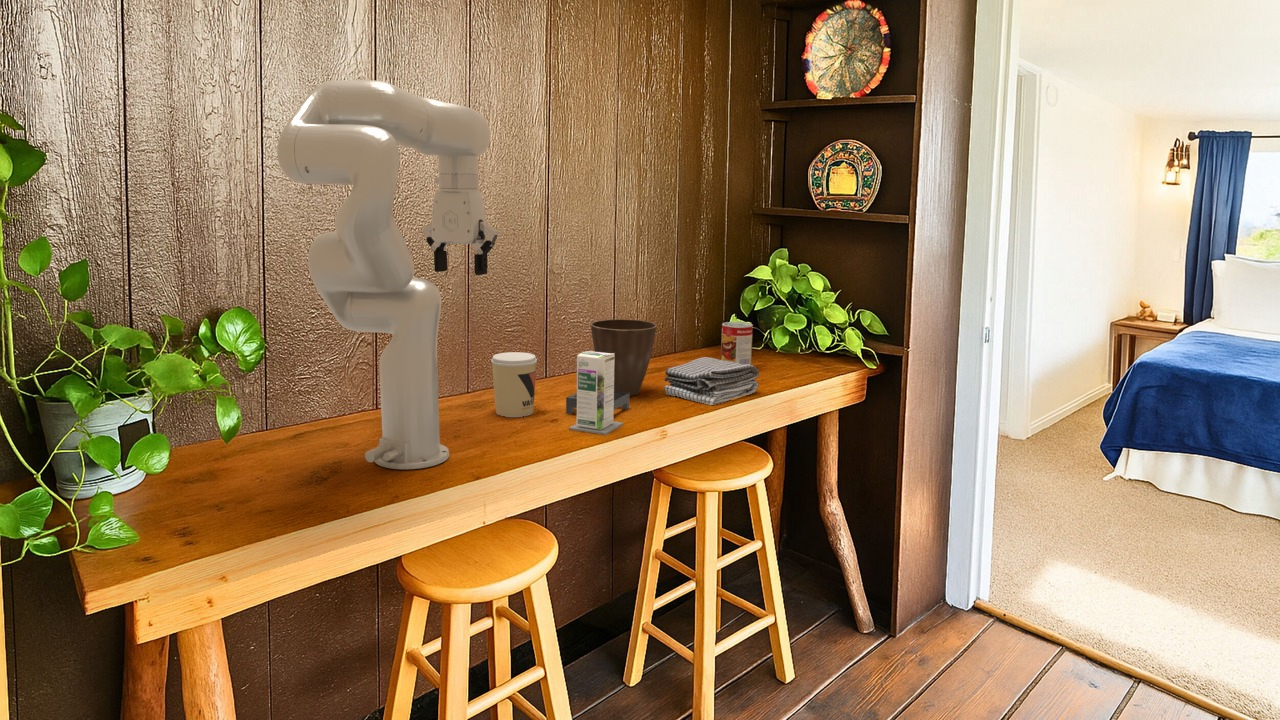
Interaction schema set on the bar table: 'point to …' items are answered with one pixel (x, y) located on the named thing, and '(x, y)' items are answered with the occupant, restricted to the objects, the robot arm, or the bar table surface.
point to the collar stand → (619, 400)
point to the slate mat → (603, 431)
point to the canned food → (736, 342)
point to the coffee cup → (514, 383)
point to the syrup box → (595, 390)
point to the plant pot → (626, 349)
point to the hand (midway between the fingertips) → (460, 272)
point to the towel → (711, 380)
